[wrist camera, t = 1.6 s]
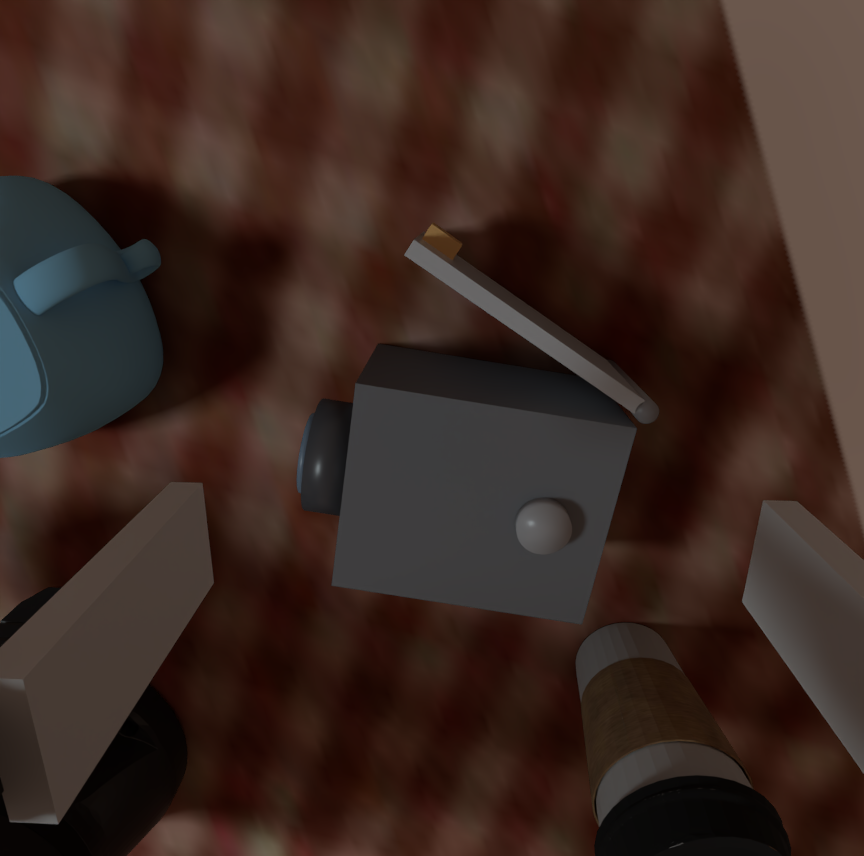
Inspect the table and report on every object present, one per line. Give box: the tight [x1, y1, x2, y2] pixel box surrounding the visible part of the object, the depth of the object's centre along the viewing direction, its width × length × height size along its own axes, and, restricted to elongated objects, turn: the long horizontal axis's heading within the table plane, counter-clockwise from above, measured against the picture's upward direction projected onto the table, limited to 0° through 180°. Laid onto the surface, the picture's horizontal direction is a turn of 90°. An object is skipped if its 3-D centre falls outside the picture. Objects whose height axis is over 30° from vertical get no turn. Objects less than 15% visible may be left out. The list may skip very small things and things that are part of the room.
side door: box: [405, 222, 659, 424], centre depth 29 cm, size 12×2×8 cm, turn 56°
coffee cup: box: [576, 623, 791, 856], centre depth 33 cm, size 8×8×15 cm
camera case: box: [297, 344, 637, 624], centre depth 32 cm, size 14×10×9 cm
